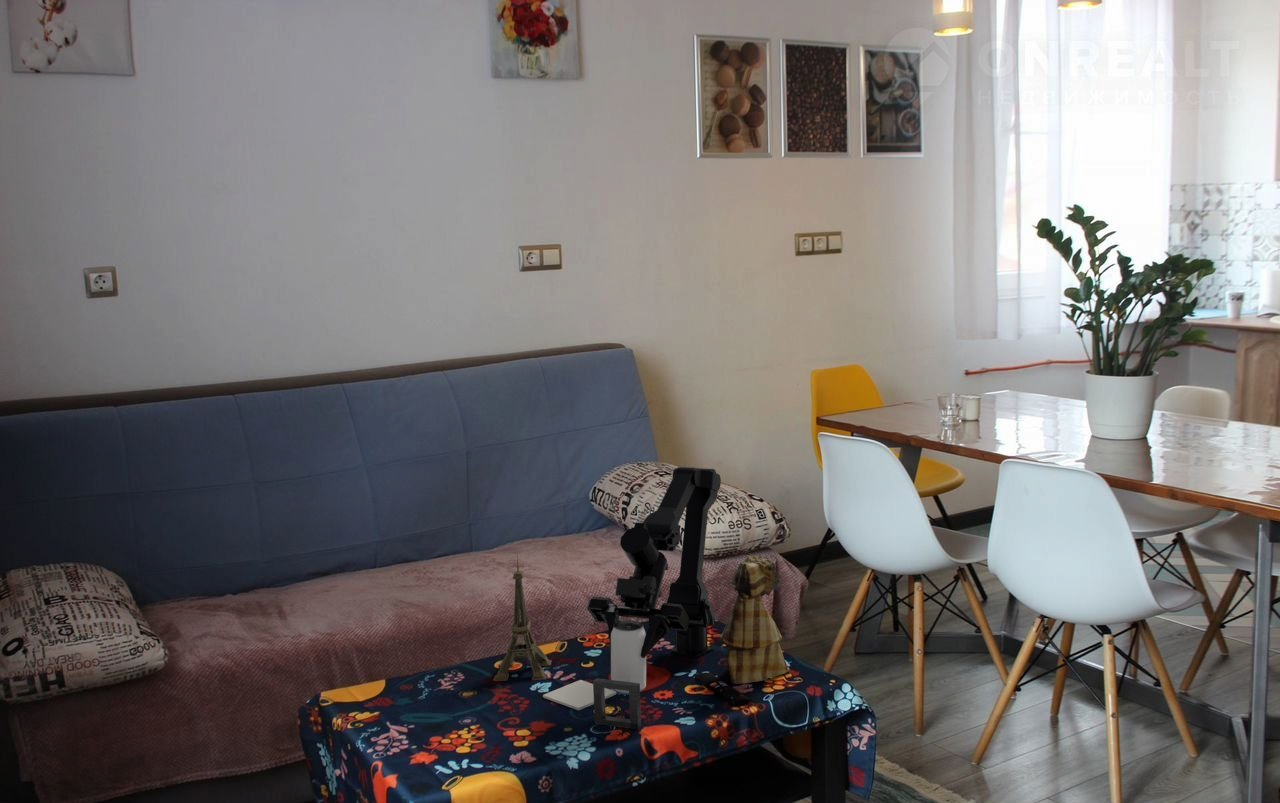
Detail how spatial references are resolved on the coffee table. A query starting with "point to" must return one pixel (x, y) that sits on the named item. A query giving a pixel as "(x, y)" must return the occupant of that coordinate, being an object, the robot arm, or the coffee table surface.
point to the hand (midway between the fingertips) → (627, 655)
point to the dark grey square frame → (633, 701)
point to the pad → (576, 695)
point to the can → (628, 653)
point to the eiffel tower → (528, 646)
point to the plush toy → (753, 625)
